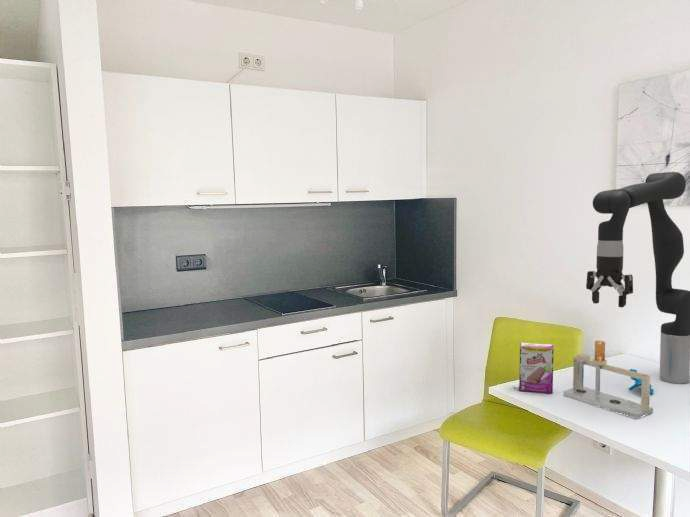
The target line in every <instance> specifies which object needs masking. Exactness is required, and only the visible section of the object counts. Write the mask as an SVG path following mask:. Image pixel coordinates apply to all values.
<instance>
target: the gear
mask: <svg viewBox="0 0 690 517" xmlns="http://www.w3.org/2000/svg"><path fill="white" fill-rule="evenodd" d="M628 370H629V371H633V372H637V373H638V370H637V369H633V368H630V369H628ZM630 379H631V380H632V381H634V384H632V386H630V387H629V388H628V390H629V391H630V390H631V391H633V390H634V389H635V388H636V387H637V388H639V389H640V391H642V380H641V379H637V378H634V377H630ZM652 395H654V388H653V386H652V385H651V383H650V396H652Z"/></svg>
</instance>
